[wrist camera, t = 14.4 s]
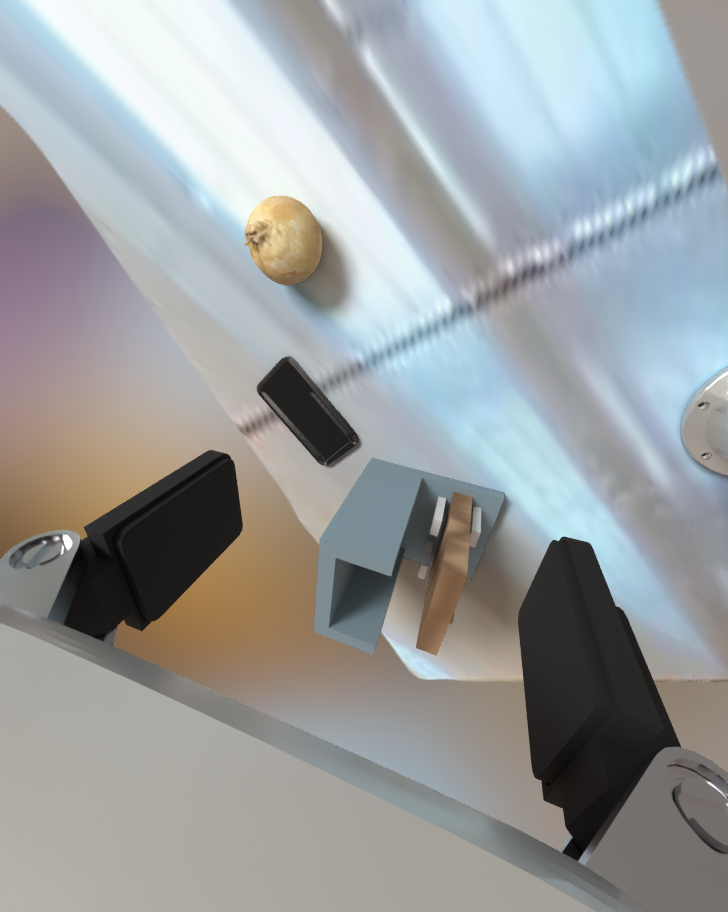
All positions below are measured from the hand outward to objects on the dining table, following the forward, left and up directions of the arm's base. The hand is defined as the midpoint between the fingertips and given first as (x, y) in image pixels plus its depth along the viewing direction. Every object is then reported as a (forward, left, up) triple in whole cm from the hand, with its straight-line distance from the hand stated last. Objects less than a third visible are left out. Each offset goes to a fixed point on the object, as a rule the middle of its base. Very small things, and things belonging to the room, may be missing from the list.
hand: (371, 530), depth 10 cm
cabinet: (-1, +24, -33) cm, 41 cm away
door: (-5, +24, -31) cm, 40 cm away
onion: (+20, -8, -33) cm, 39 cm away
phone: (+18, +12, -33) cm, 40 cm away
